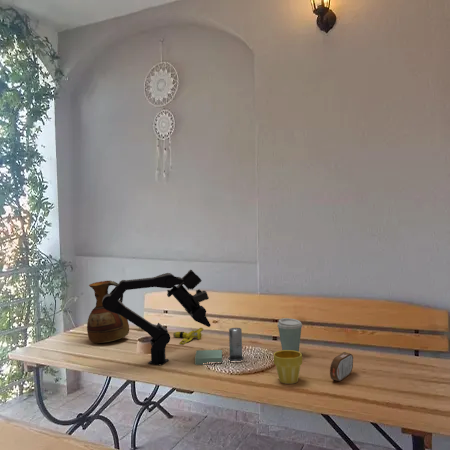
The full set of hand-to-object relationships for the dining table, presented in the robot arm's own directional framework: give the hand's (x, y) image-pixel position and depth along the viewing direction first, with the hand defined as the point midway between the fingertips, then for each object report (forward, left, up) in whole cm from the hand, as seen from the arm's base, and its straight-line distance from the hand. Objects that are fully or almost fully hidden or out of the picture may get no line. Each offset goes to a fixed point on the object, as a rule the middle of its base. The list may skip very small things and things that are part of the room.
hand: (207, 323), depth 190 cm
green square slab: (-4, -2, -14) cm, 15 cm away
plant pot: (-17, -39, -15) cm, 45 cm away
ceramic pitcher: (+9, +58, -15) cm, 61 cm away
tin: (-8, -57, -15) cm, 59 cm away
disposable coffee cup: (+12, -33, -14) cm, 38 cm away
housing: (-1, -13, -14) cm, 19 cm away
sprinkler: (+23, +22, -15) cm, 35 cm away
